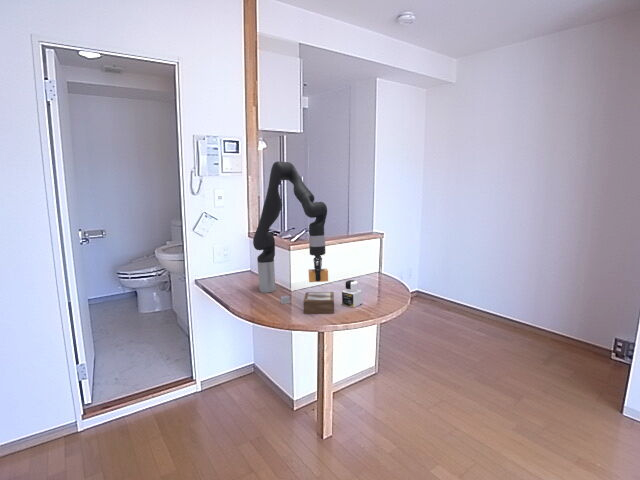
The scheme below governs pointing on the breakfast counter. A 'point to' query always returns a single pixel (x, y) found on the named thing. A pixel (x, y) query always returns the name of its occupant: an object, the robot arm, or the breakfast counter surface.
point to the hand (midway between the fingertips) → (318, 279)
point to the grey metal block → (285, 299)
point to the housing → (323, 275)
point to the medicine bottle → (351, 294)
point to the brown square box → (319, 303)
